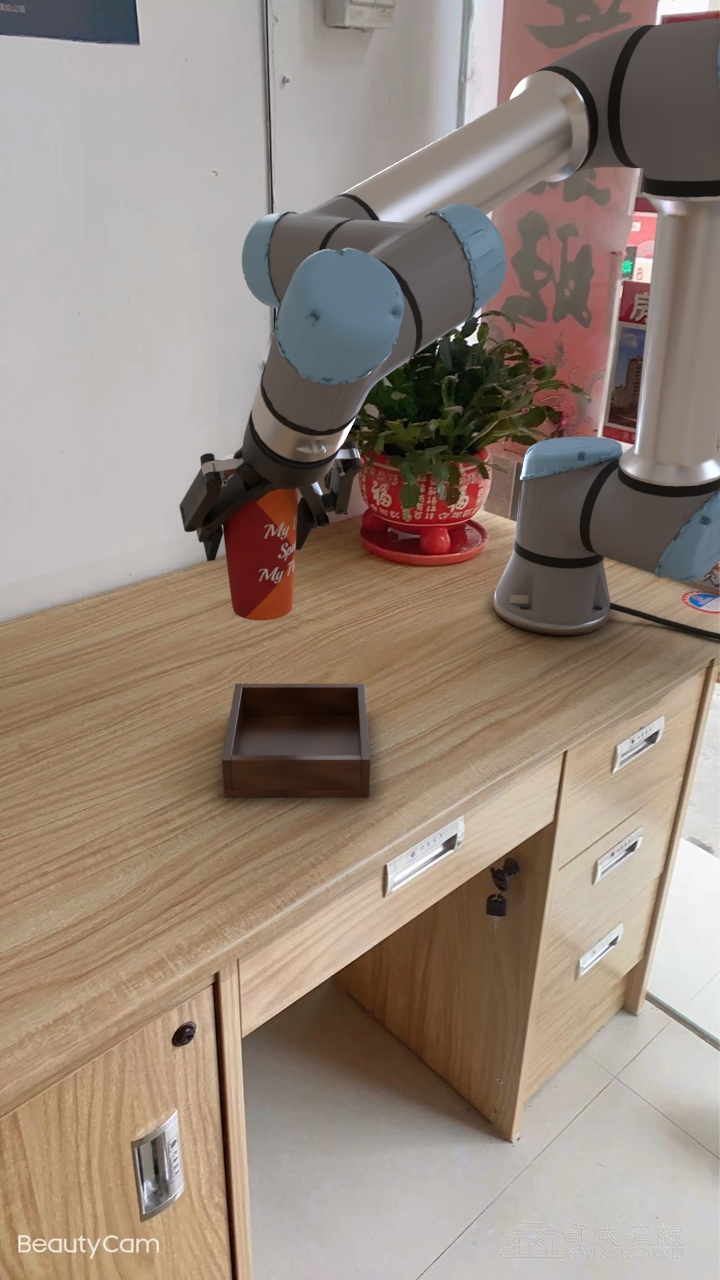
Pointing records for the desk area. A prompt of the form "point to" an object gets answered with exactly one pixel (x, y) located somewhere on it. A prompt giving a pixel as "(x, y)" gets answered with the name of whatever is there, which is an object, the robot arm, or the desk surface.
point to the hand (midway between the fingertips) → (252, 542)
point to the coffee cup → (262, 555)
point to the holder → (297, 741)
